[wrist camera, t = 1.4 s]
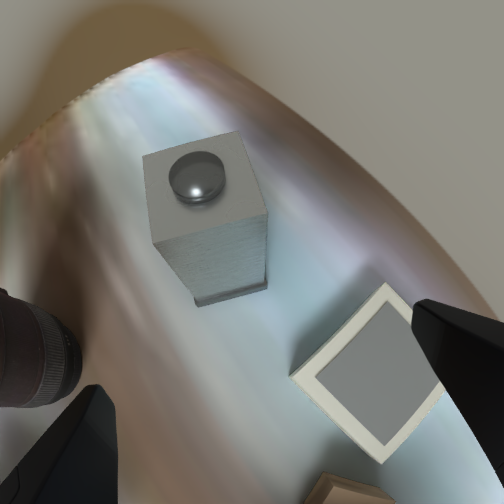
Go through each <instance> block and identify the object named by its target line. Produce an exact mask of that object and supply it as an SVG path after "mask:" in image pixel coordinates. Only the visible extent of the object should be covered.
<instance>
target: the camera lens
mask: <svg viewBox="0 0 504 504" xmlns="http://www.w3.org/2000/svg"><path fill="white" fill-rule="evenodd" d="M81 368H82V362H81V353H80V348H79V346H78V343H77V341H76V338H75V337H74V336H73V334H72V333H71V331H70V330H69V329H68V328H66V327H65V326H64V325H63V324H62V323H61V322H60V321H59V320H58V319H57V318H56V317H55V316H53V315H51V314H49V313H47V312H45V311H44V310H42V309H41V308H39V307H38V306H35V305H33V304H30V303H28V302H25V301H23V300H20V299H17V298H13V297H11V296H9V295H8V293H7V291H6V290H5V289H2V288H0V407H15V408H33V407H39V406H42V405H47V404H52V403H54V402H57V401H58V400H59V399H61V398H64V397H66V396H67V395H69V394H70V393H71V392H72V391H73V390H74V388H75V387H76V385H77V384H78V381H79V378H80V374H81Z"/></svg>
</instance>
